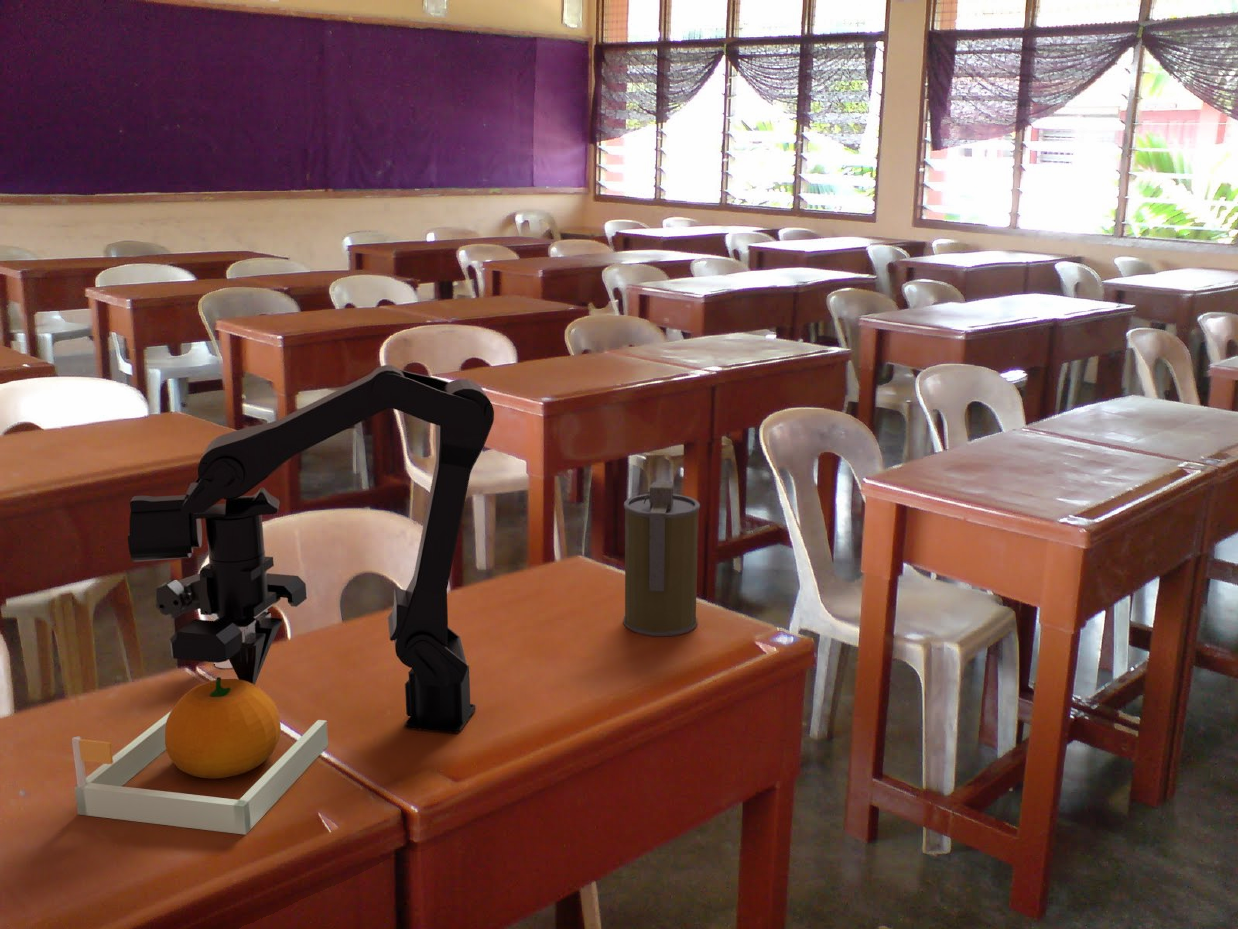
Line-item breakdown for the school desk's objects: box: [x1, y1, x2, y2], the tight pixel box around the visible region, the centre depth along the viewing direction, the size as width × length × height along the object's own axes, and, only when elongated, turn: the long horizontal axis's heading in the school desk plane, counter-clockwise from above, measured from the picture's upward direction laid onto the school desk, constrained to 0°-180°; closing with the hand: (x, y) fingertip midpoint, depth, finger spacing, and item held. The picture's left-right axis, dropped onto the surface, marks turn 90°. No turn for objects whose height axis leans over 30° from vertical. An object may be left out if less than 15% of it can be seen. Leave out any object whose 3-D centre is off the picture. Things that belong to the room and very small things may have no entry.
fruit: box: [165, 676, 282, 779], centre depth 123 cm, size 12×12×10 cm
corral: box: [71, 710, 329, 836], centre depth 120 cm, size 18×18×8 cm
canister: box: [622, 480, 701, 637], centre depth 160 cm, size 11×10×20 cm
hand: (248, 687), depth 128 cm, fingers closed
